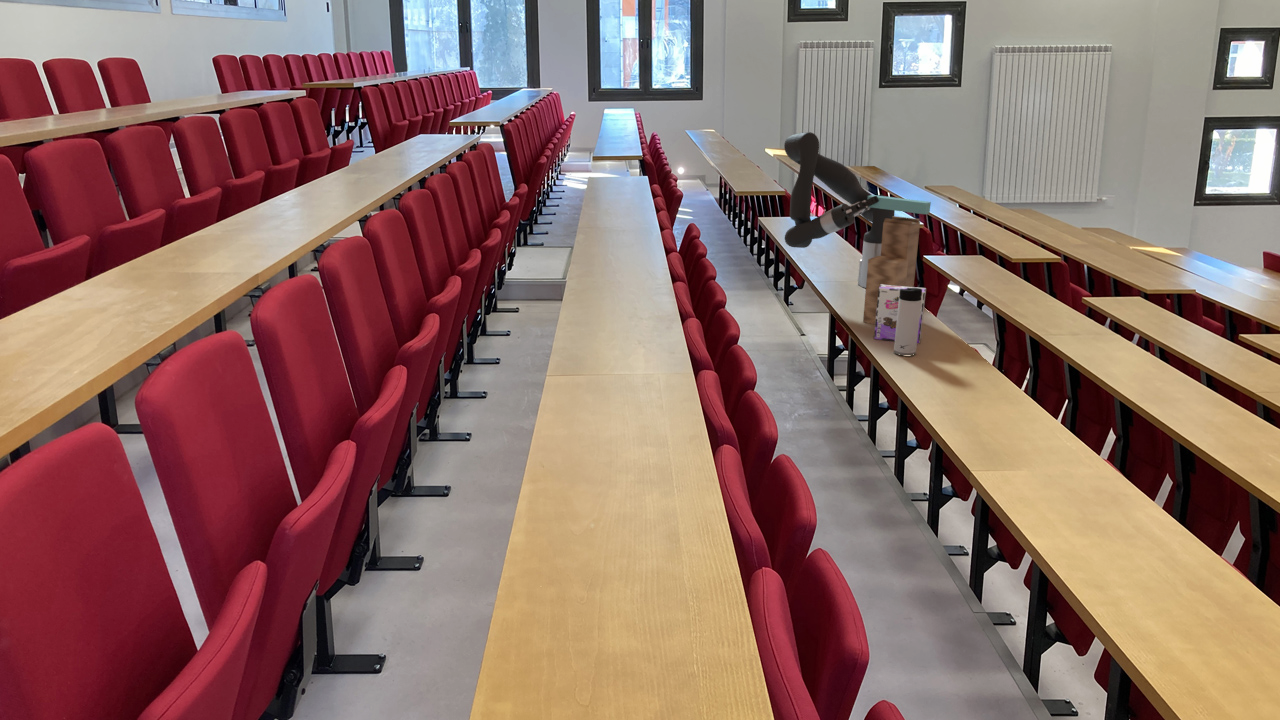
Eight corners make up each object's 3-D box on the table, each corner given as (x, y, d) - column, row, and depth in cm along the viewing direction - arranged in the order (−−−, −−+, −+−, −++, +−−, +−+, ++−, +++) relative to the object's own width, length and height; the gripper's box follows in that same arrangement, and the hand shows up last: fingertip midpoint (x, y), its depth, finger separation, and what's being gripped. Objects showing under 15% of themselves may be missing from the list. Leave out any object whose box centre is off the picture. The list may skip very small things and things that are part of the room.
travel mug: (903, 358, 264) (910, 291, 257) (889, 351, 270) (895, 286, 263) (921, 355, 266) (928, 289, 260) (906, 349, 272) (912, 284, 266)
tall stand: (875, 317, 305) (883, 219, 295) (885, 312, 311) (894, 215, 301) (900, 322, 300) (910, 222, 289) (910, 317, 306) (920, 218, 295)
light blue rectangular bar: (866, 206, 300) (867, 196, 299) (871, 205, 302) (872, 194, 301) (925, 214, 288) (926, 203, 287) (929, 213, 291) (930, 202, 289)
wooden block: (863, 322, 300) (868, 259, 293) (873, 317, 305) (879, 255, 299) (891, 327, 294) (897, 263, 287) (902, 322, 300) (908, 259, 293)
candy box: (873, 339, 281) (877, 287, 276) (875, 334, 287) (879, 283, 282) (919, 344, 277) (925, 291, 272) (921, 338, 282) (926, 287, 277)
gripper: (822, 211, 304) (866, 189, 293) (842, 206, 315) (885, 184, 303) (831, 231, 304) (875, 211, 293) (850, 226, 315) (894, 205, 303)
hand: (880, 197), depth 298 cm, fingers closed on light blue rectangular bar, 3 cm apart
